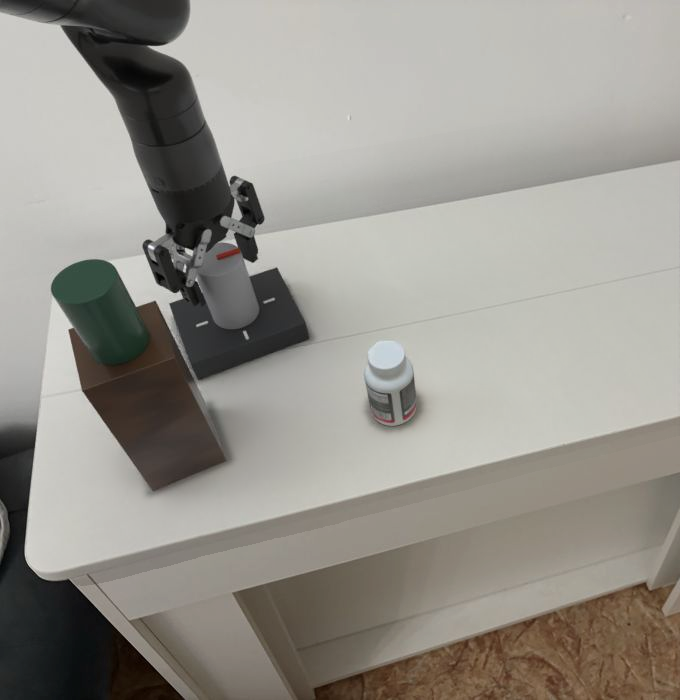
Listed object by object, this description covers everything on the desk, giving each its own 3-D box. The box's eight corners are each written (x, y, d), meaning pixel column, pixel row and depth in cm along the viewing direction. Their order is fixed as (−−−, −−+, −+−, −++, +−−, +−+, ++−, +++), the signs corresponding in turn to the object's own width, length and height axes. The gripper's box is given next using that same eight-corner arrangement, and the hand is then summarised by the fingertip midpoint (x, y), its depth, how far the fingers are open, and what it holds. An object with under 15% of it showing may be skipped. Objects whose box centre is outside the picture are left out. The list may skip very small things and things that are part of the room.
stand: (152, 491, 75) (81, 391, 61) (137, 434, 79) (67, 329, 66) (227, 460, 77) (175, 357, 63) (207, 407, 82) (155, 300, 68)
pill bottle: (407, 383, 84) (401, 328, 77) (424, 417, 81) (419, 364, 73) (363, 398, 83) (353, 344, 75) (379, 433, 80) (370, 381, 72)
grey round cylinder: (220, 335, 85) (197, 280, 78) (207, 305, 88) (185, 249, 81) (265, 319, 86) (247, 264, 79) (251, 290, 90) (233, 234, 82)
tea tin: (95, 373, 62) (55, 312, 56) (86, 334, 65) (46, 271, 59) (155, 352, 64) (122, 290, 58) (143, 314, 67) (111, 251, 61)
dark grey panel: (198, 380, 84) (190, 363, 82) (176, 319, 91) (168, 302, 88) (309, 338, 89) (305, 321, 86) (281, 283, 95) (276, 266, 92)
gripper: (206, 119, 76) (243, 234, 88) (98, 190, 68) (155, 305, 80) (259, 141, 73) (289, 257, 86) (153, 217, 65) (203, 332, 78)
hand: (224, 280), depth 83 cm, fingers open, 8 cm apart
